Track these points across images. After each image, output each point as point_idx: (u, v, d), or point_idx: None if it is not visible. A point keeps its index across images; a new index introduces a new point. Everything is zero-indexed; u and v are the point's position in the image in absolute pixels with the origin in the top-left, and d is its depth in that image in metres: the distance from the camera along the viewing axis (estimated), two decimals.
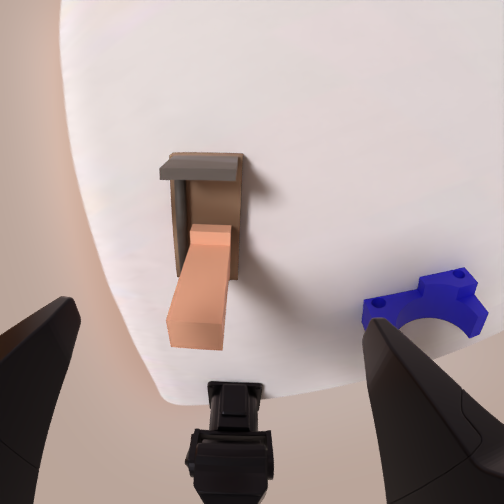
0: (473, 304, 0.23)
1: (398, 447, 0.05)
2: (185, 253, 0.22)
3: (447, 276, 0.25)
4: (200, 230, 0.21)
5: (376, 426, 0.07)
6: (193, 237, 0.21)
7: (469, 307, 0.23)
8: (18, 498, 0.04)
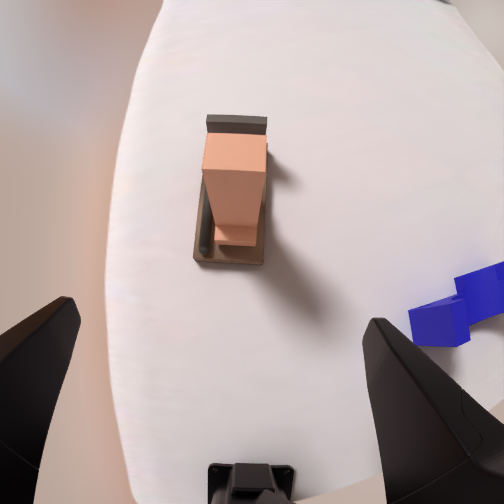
0: None
1: (398, 447, 0.05)
2: (209, 218, 0.21)
3: None
4: None
5: (376, 426, 0.07)
6: None
7: None
8: (18, 498, 0.04)
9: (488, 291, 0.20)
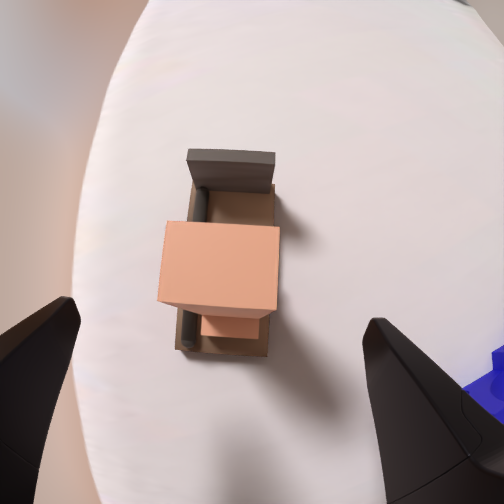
0: None
1: (398, 447, 0.05)
2: None
3: None
4: None
5: (376, 426, 0.07)
6: None
7: None
8: (18, 498, 0.04)
9: None
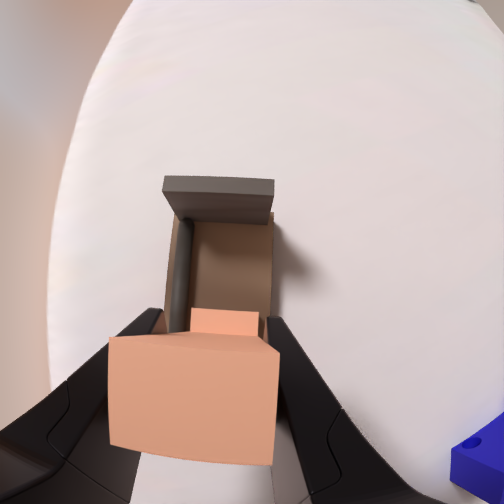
0: None
1: (276, 460, 0.05)
2: None
3: None
4: (209, 309, 0.12)
5: None
6: (196, 319, 0.12)
7: None
8: None
9: None
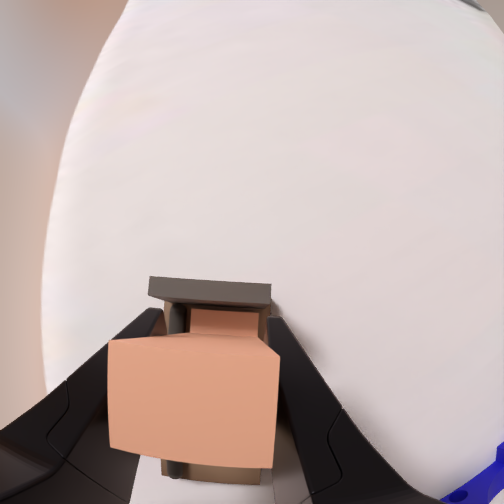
0: None
1: (276, 460, 0.05)
2: None
3: None
4: (208, 310, 0.12)
5: None
6: (196, 320, 0.12)
7: None
8: None
9: None
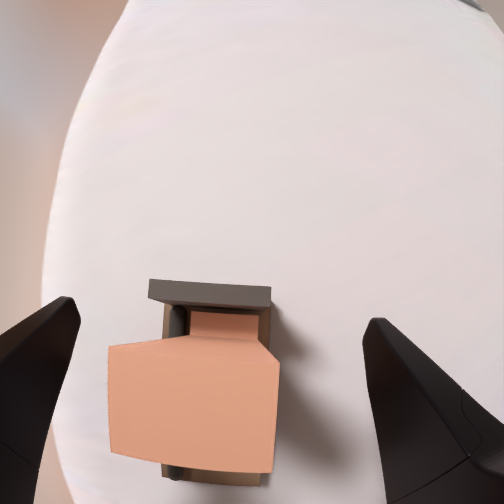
0: None
1: (398, 447, 0.05)
2: None
3: None
4: None
5: (376, 426, 0.07)
6: (196, 323, 0.12)
7: None
8: (18, 498, 0.04)
9: None
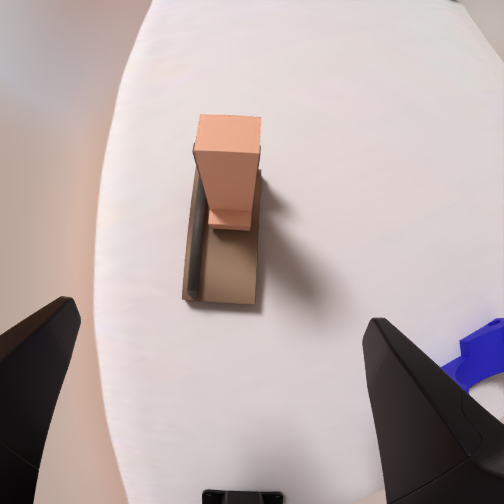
0: None
1: (398, 447, 0.05)
2: (197, 259, 0.20)
3: (484, 328, 0.21)
4: None
5: (376, 426, 0.07)
6: None
7: None
8: (18, 498, 0.04)
9: (492, 352, 0.19)
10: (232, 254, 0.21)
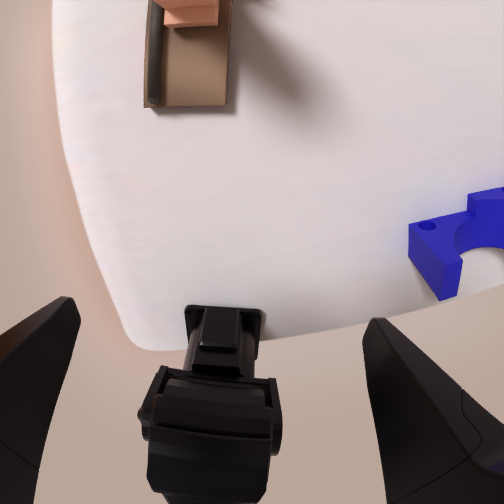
0: None
1: (398, 447, 0.05)
2: (156, 63, 0.14)
3: (497, 192, 0.18)
4: None
5: (376, 426, 0.07)
6: None
7: None
8: (18, 498, 0.04)
9: (499, 223, 0.18)
10: (197, 52, 0.14)
